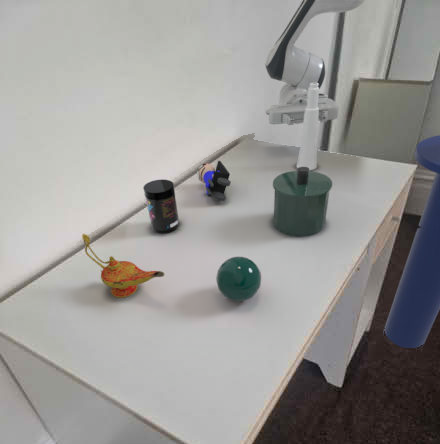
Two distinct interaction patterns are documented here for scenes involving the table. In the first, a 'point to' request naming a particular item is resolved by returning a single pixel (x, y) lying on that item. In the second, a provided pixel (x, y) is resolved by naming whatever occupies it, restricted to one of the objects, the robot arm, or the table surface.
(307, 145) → the cosmetic bottle
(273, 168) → the table surface
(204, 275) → the table surface
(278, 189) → the pot lid
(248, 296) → the sphere
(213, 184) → the character figurine
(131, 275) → the magic lamp
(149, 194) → the supplement container
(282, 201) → the pot
